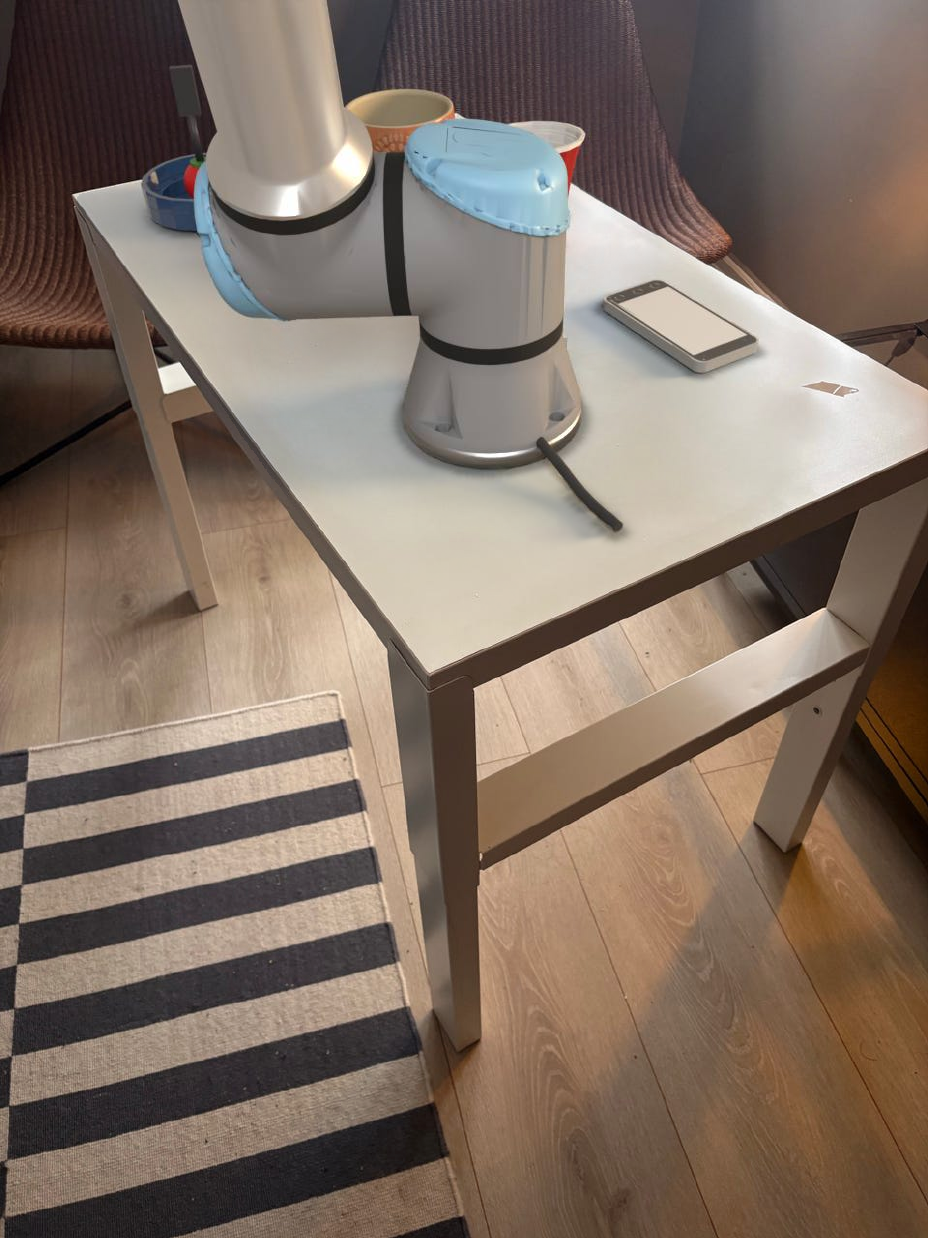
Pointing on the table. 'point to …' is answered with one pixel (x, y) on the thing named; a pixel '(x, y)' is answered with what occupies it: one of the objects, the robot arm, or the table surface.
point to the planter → (399, 115)
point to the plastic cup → (558, 139)
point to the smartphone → (680, 325)
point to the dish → (170, 194)
